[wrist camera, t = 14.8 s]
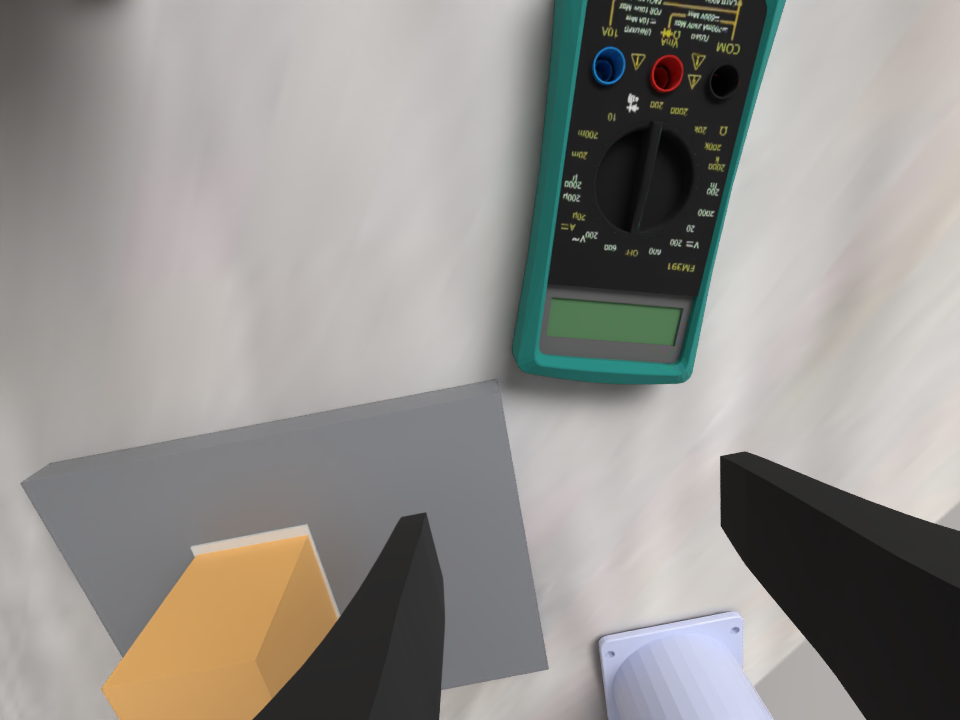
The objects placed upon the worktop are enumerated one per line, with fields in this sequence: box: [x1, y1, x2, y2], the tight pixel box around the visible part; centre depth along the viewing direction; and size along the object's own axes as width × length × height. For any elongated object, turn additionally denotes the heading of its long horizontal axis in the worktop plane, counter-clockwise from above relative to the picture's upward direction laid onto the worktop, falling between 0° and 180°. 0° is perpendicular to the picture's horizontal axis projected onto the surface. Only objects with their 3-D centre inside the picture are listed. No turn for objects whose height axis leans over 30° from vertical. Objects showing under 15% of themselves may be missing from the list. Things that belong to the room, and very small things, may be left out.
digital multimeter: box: [512, 0, 786, 384], centre depth 17 cm, size 7×15×3 cm, turn 175°
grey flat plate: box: [20, 379, 549, 690], centre depth 22 cm, size 16×20×2 cm
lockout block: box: [101, 535, 338, 720], centre depth 19 cm, size 5×5×6 cm
